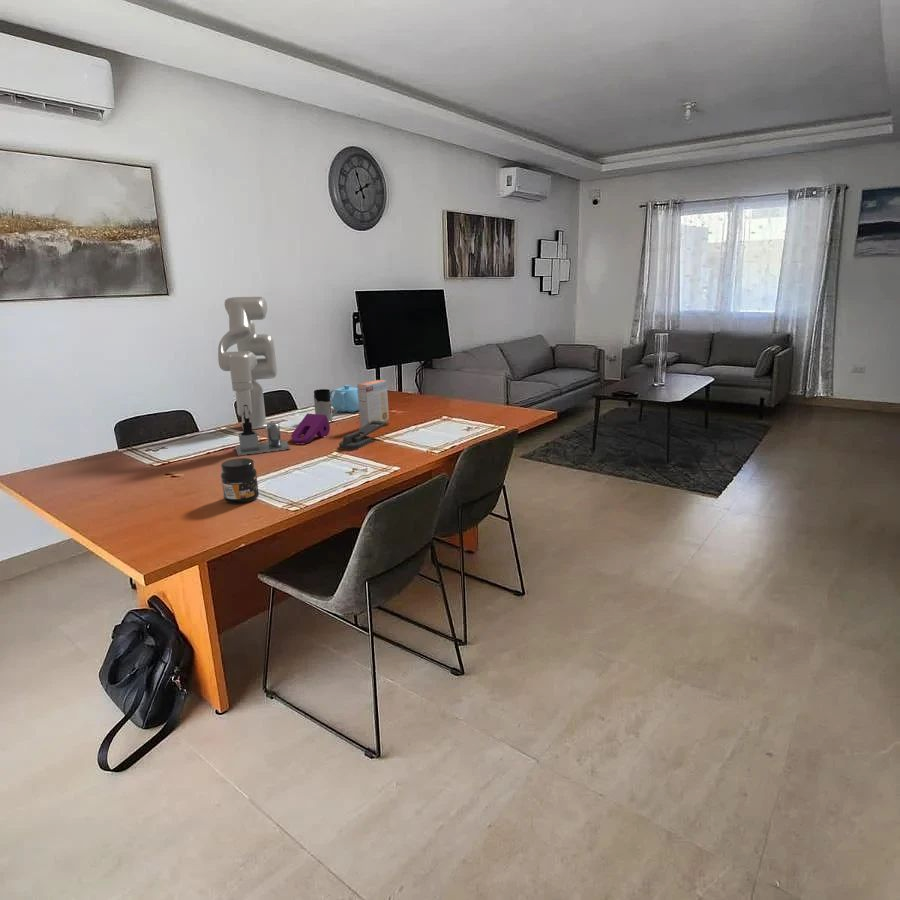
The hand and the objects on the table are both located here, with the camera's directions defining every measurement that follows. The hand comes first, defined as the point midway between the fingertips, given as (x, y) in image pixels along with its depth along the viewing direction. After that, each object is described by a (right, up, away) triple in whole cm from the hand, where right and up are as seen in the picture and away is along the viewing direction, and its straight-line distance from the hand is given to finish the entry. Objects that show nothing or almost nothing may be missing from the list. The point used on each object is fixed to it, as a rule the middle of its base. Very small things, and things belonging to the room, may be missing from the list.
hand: (247, 431), depth 238 cm
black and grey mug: (+23, +6, +51) cm, 56 cm away
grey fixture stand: (+5, -7, +4) cm, 10 cm away
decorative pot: (+28, +13, +73) cm, 80 cm away
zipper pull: (+45, -5, +12) cm, 47 cm away
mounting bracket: (+20, -3, +19) cm, 28 cm away
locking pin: (0, -2, +1) cm, 2 cm away
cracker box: (+46, +3, +38) cm, 60 cm away
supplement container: (+16, -23, -51) cm, 58 cm away
